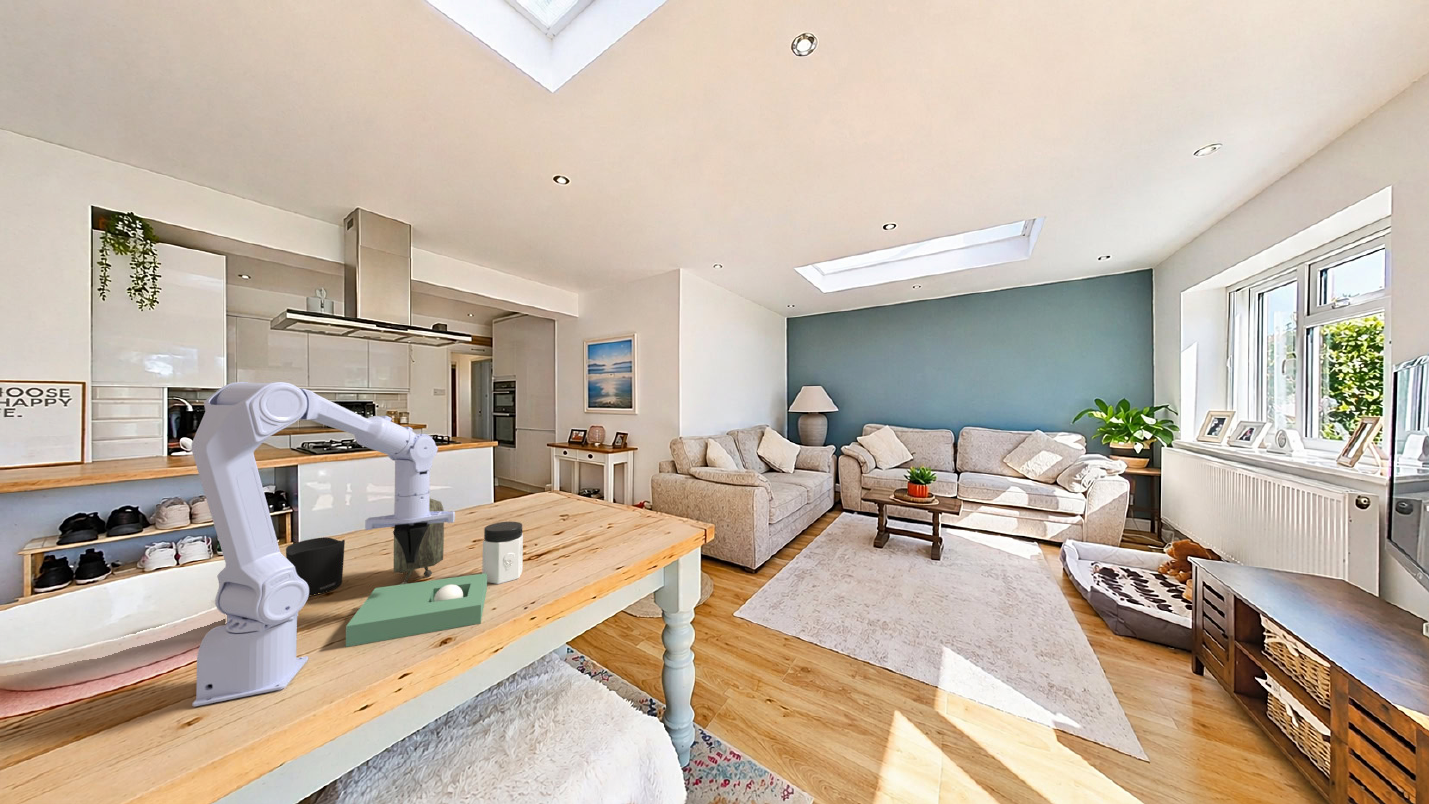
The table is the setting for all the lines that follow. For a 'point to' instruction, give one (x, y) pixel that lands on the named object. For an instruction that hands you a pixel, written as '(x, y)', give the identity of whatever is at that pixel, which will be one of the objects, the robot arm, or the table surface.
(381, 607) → the putting box
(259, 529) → the robot arm
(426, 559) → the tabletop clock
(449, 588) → the white egg
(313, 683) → the table surface
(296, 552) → the pen holder
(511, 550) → the jar
